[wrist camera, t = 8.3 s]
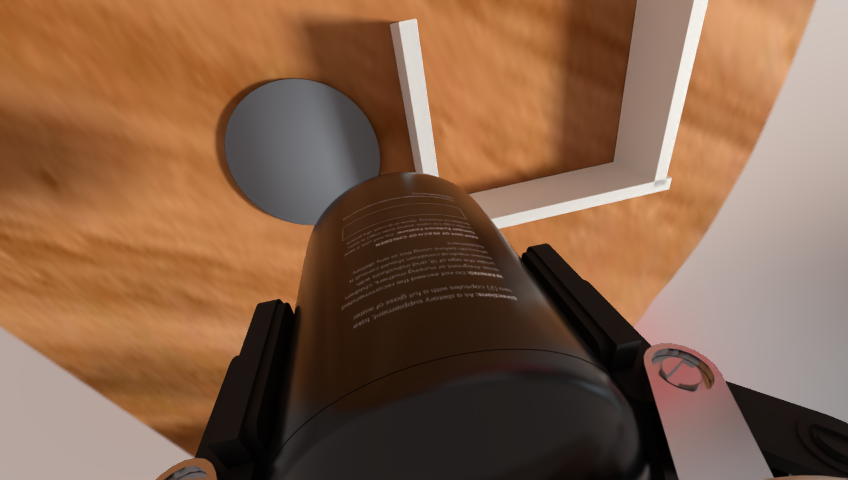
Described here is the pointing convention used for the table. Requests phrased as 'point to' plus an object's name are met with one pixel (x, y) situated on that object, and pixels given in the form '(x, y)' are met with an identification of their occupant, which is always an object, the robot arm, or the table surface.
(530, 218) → the white u-shaped bracket
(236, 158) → the mat
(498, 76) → the table surface
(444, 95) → the table surface
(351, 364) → the supplement bottle
